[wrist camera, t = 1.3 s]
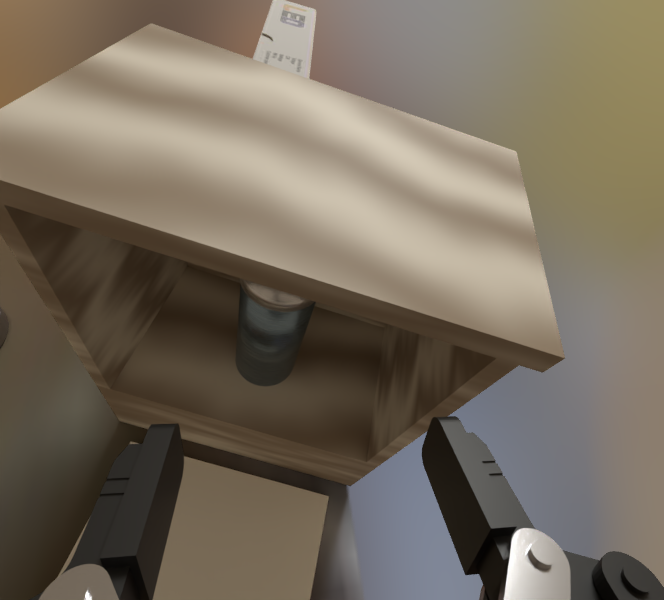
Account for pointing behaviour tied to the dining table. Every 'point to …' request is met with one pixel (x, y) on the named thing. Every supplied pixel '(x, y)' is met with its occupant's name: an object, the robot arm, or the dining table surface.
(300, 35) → the packaging
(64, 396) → the dining table surface
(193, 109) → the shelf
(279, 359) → the tin
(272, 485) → the tile
